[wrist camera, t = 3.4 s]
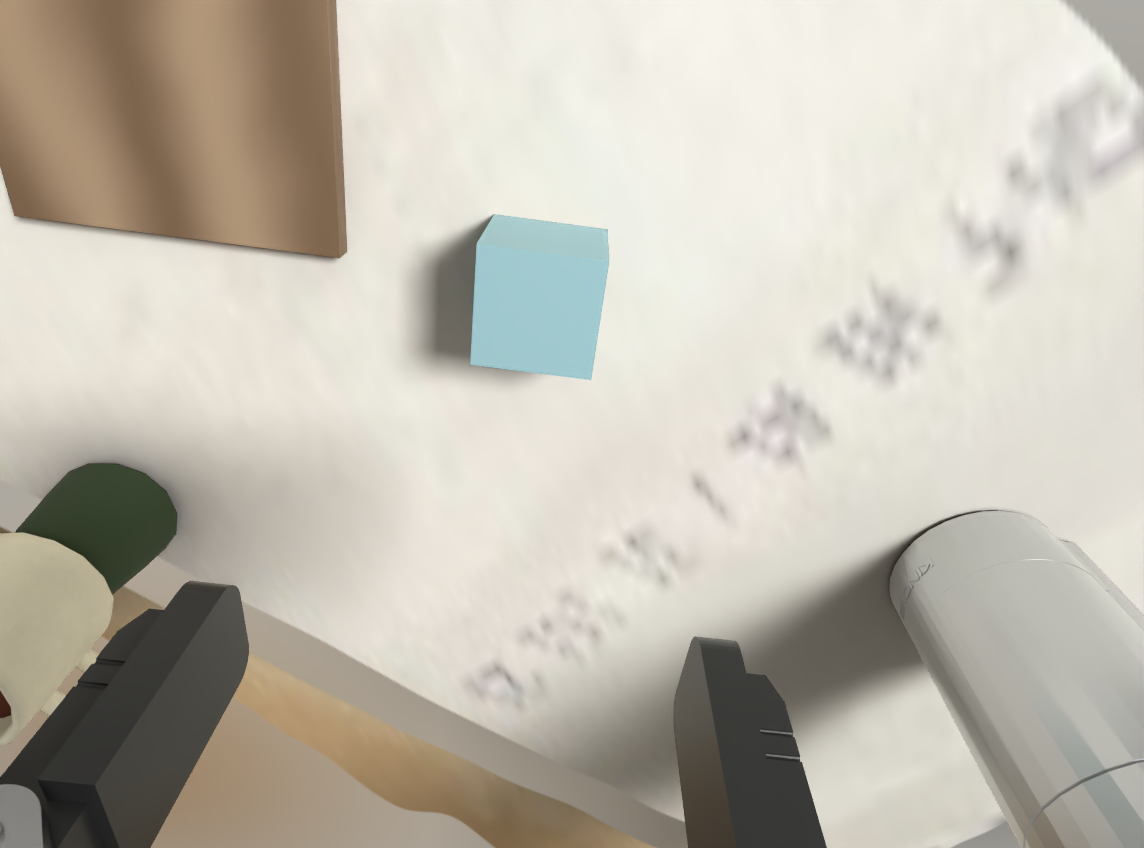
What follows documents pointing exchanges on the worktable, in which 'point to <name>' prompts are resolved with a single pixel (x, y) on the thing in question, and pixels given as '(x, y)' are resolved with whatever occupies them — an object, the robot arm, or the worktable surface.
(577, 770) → the worktable surface
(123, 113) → the walnut board
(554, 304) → the teal cube
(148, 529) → the character mug
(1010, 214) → the worktable surface
